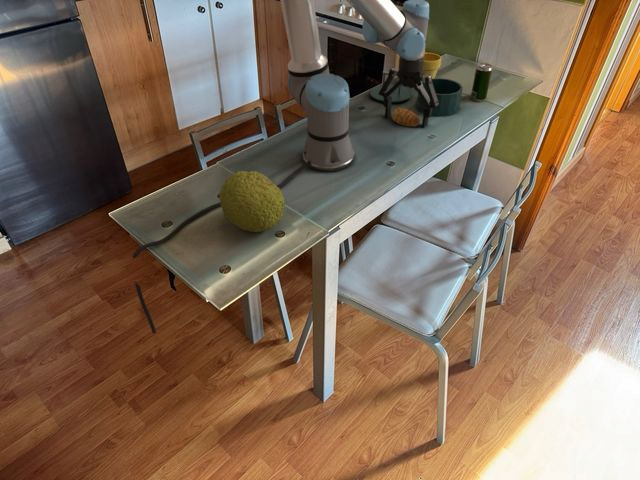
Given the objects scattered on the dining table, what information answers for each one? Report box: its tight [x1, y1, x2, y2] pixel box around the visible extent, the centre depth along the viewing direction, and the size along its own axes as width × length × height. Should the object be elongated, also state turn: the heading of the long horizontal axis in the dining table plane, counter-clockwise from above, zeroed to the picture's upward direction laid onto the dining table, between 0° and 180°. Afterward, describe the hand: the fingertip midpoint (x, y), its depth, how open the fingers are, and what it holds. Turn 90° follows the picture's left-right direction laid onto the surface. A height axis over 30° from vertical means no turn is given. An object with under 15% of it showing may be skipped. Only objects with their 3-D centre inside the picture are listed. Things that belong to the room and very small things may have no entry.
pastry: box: [391, 107, 421, 127], centre depth 155 cm, size 9×7×4 cm
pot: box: [416, 77, 464, 117], centre depth 162 cm, size 14×14×8 cm
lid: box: [369, 70, 413, 104], centre depth 170 cm, size 15×15×9 cm
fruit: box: [219, 170, 286, 233], centre depth 112 cm, size 16×14×15 cm
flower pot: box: [421, 52, 442, 82], centre depth 179 cm, size 10×10×10 cm
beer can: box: [470, 62, 493, 103], centre depth 165 cm, size 5×5×12 cm
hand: (405, 121), depth 157 cm, fingers open, 13 cm apart
